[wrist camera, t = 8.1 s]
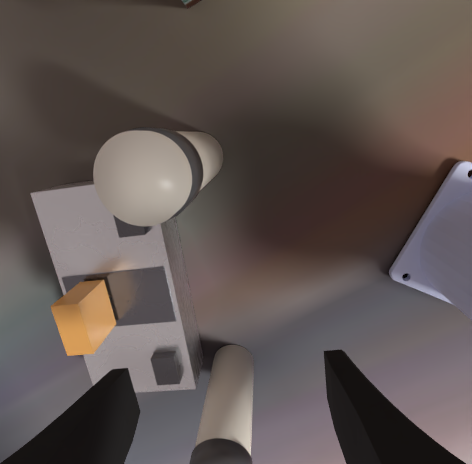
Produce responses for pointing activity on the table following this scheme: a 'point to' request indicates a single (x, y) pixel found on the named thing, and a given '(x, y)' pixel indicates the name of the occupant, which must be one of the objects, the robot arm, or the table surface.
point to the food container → (190, 2)
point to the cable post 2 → (227, 410)
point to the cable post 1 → (154, 172)
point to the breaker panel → (126, 286)
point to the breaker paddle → (84, 317)
